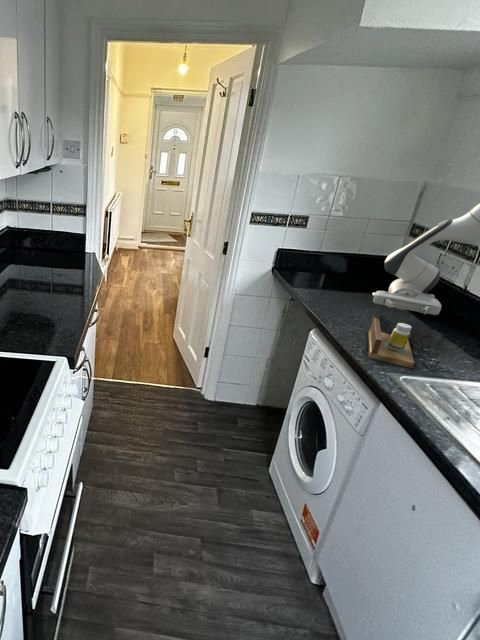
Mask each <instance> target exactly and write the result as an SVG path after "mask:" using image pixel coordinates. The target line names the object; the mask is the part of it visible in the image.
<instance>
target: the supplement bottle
mask: <svg viewBox="0 0 480 640" xmlns="http://www.w3.org/2000/svg"><path fill="white" fill-rule="evenodd" d="M411 330H412V326H411V325H410V324H407V323H404V322H398V323H397V324H396V326H395V328H393V330H392V333H391V334H390V335H391V337H390V340H389V342H388V344H387V345H388V347H390V348H391V349H394V350H398V351H402V350H404V348H405V345H406V343H407V341H409V339H410V336H411Z"/></svg>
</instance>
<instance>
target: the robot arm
mask: <svg viewBox="0 0 480 640" xmlns="http://www.w3.org/2000/svg"><path fill="white" fill-rule="evenodd" d="M438 241H450V242H454V243H455V242H456V243H460V244H466V245H476V244H480V202H479V203H478V204H476V206H474V207H473V208H472V209H471V210H469V211H468V212H466V213H465V214H464V215H462V216H459V217H457V218H453V219H448V218H447V219H445V220H442V221H440V222H439V223H437V224H435V225H434V226H432V227H431V228H428V229H427V230H426V231H424V232H423V233H421V234H420V235H418V236H417V237H416V238H414V239H412V240H411V241H410V242H408V243H406V244H404V246H402V247H400V248H398V249H396V250H394V251H393V252H391V253H390V254H388V256H387V257H386V258H385V260H384V262H383V263H384V265H383V266H384V270H385V271H386V272H387V273H388V274H390V275H393V276H395V277H397V279H395V280H393V281H392V282H391V283H390V284H389V287H388V289H387V290H388V291H385V290H377V291H376V292H375V291H374V292H372V296H373V299H372V303H374V304H376V305H379V306H380V305H381V306H386V307H388V308H390V309H397V310H400V311H411V312H412V311H413V312H418V313H420V314H421V315H426V314H427V315H432V316H438V315H439V314H440V312H441V310H442V304H441V302H440V301H439V300H438V299H437V298H435V297H436V296H435V295H434V294H432V293H429V292H430V291H431V290H432V289H433V288H434V287H435V286H437V284H438V283H439V281H440V278H441V271H440V268H437V267H436V266H434V265H433V264H431V263H429V262H428V261H425V260H424V259H423V258H421V257H419V256H417V255H416V254H417V253H418V252H419V251H421V250H423V249H424V248H426V247H428V246H429V245H430V244H432V243H434V242H438Z"/></svg>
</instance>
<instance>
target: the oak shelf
mask: <svg viewBox="0 0 480 640" xmlns="http://www.w3.org/2000/svg"><path fill="white" fill-rule="evenodd" d="M391 335H392V334H389V333H386V332H382V330H381V322H380V318H378V317H373V320H372V323H371V326H370V328H369V330H368V333H367V339H368V358H370V359H374V360H377V361H380V362H381V361H382V362H385V363H389V364H393V365H396V366H399V367H400V366H401V367H405V368H408V369H413V368H414V366H415V360H414V356H413V352H412V348H411V345H410V342H409V341H410V340H408V341H407V343H406V345H405V348H404V350H402V351H398V350H394V349H391V348H390V347H388V345H387V344H388V342H389V340H390V337H391Z"/></svg>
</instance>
